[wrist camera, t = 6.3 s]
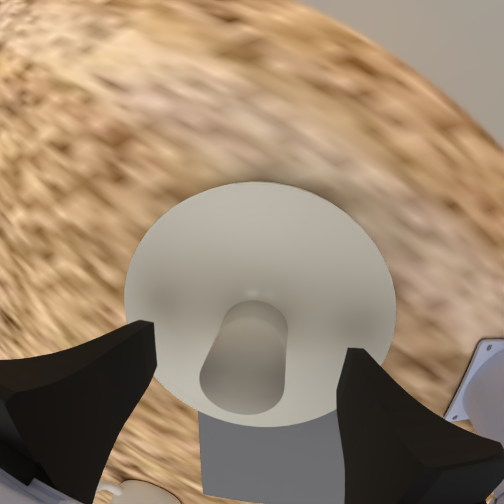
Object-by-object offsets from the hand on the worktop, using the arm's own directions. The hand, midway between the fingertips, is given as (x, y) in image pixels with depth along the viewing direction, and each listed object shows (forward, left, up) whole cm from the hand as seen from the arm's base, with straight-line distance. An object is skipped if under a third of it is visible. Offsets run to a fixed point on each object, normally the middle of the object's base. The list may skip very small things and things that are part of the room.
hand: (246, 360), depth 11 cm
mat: (-4, +17, -8) cm, 19 cm away
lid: (0, 0, -4) cm, 4 cm away
